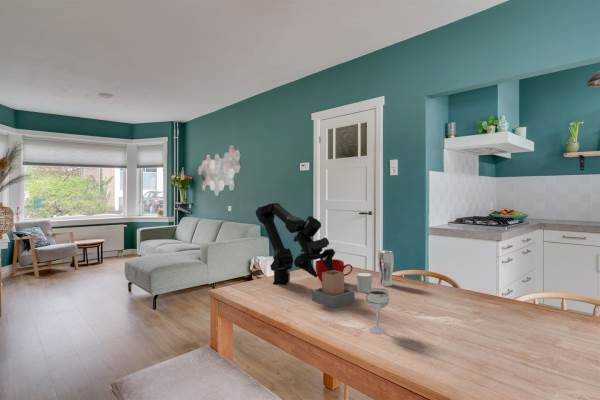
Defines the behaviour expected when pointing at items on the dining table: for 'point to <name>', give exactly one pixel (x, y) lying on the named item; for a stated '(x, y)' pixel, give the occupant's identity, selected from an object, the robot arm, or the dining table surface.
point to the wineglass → (377, 304)
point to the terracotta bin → (333, 283)
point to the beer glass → (385, 267)
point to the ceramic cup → (337, 266)
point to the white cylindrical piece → (364, 281)
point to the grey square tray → (333, 298)
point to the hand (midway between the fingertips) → (325, 274)
